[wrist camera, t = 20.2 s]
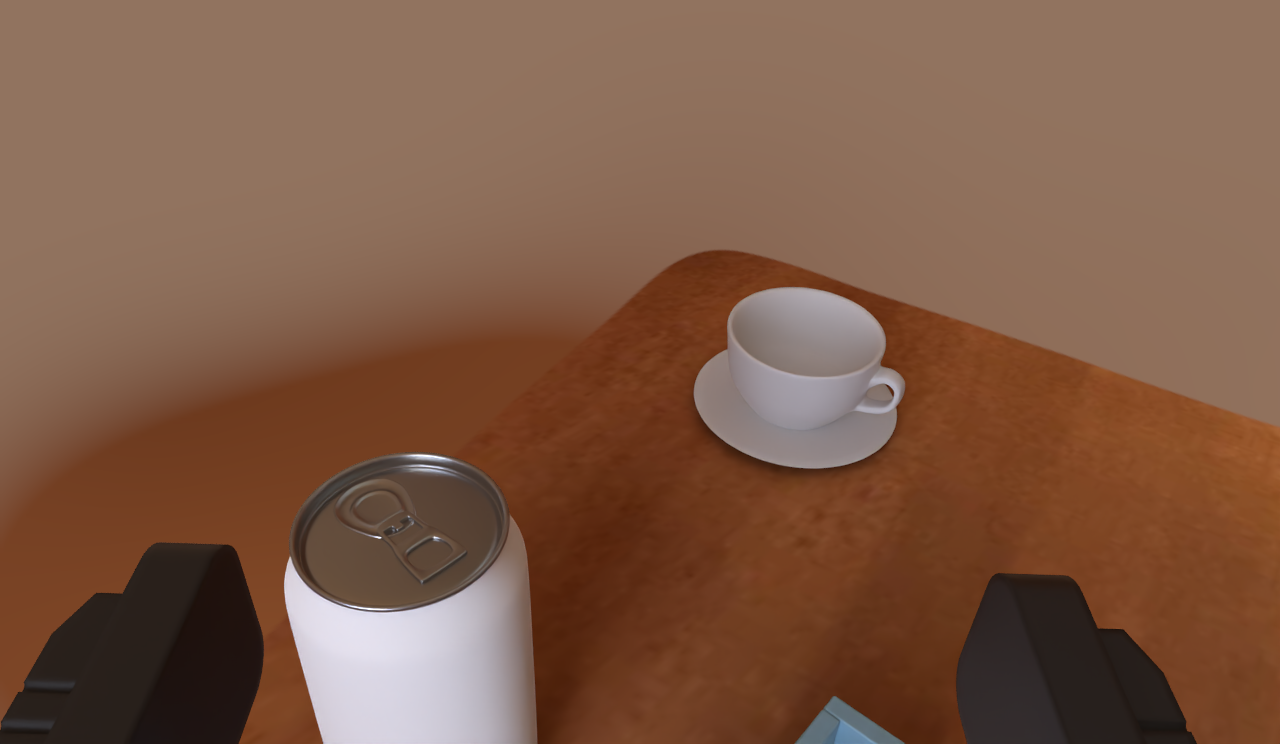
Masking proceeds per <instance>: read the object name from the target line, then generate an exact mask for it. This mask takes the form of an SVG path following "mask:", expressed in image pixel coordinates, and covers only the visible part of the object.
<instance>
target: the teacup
mask: <svg viewBox="0 0 1280 744" xmlns="http://www.w3.org/2000/svg"><path fill="white" fill-rule="evenodd" d="M727 333H728V349H727V350H725V351H723V352H721V353H719V354H717V355H716V356H715V357H713V358H712V359H711V360H709V361H708V362H707V363H706V364H705V366H704V367H703V368H702V369H701V371H700V372H699V374H698V376H697V378H696V381H695V386H694V399H695V404H696V407H697V410H698V412H699V414H700V416H701V417H702V419H703V420H704V422H705V423H706V424H707V426H708V427H709V428H710V429H711V430H712V431H713V432H714V433H715V434H716V435H717V436H718V437H720V438H721V439H722V440H723V441H725V442H726V443H728V444H729V445H731V446H732V447H734V448H736V449H738V450H739V451H741V452H743V453H745V454H748V455H750V456H752V457H755V458H758V459H760V460H763V461H767V462H770V463H774V464H778V465H783V466H789V467H797V468H830V467H837V466H842V465H847V464H850V463H853V462H856V461H859V460H862V459H864V458H866V457H868V456H870V455H871V454H873V453H875V452H876V451H878V450H879V449H880V448H881V447H882V446H883V445H884V444H885V443H886V442H887V441H888V440H889V438H890V437H891V435H892V433H893V431H894V429H895V425H896V421H897V410H896V406H897V405H898V404H899V402H900V401H901V399H902V397H903V395H904V391H905V382H904V379H903V378H902V376H901V375H900V374H899V373H897V372H896V371H894V370H893V369H890V368H885V367H882V366H881V365H880V364H881V360H882V358H883V355H884V352H885V349H886V337H885V333H884V331H883V329H882V327H881V325H880V324H879V322H878V321H877V320H876V319H875V318H874V316H873V315H871V314H870V313H869V312H868V311H867V310H865V309H864V308H863V307H861V306H860V305H858V304H856V303H855V302H853V301H851V300H849V299H846V298H844V297H842V296H839V295H836V294H833V293H830V292H826V291H822V290H817V289H811V288H801V287H782V288H774V289H768V290H764V291H760V292H757V293H755V294H752V295H750V296H748V297H746V298H745V299H743V300H742V301H740V302H739V303H738V304H737V305H736V306H735V307H734V308H733V310H732V311H731V313H730V315H729V318H728V323H727ZM885 384H887V385H889V386H890V387H891V388H892V389H893V391H894V397H892V394H891V392H890V391H889V389H888V388H887V386H886V385H885Z"/></svg>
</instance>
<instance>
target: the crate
mask: <svg viewBox="0 0 1280 744" xmlns="http://www.w3.org/2000/svg"><path fill="white" fill-rule="evenodd" d="M795 744H905V743H904V742H902V741H901V740H899V739H898V738H896V737H895V736H893V735H892V734H890V733H889V732H888V731H886V730H885V729H883V728H882V727H880V726H879V725H877V724H876V723H874V722H873V721H871V720H870V719H868V718H867V717H865V716H864V715H863V714H861V713H860V712H858V711H857V710H855V709H854V708H852V707H851V706H849V705H848V704H846V703H845V702H843V701H842V700H840V699H839V698H838V697H836V696H833V697H832V698H831V699H830V701H829V702H828V703H827V704H826V706H825V707H824V709H823V710H822V711H821V712H820V713H819V714H818V715H817V717H816V718H815V719H814V720H813V722H812V723H811V724H810V725H809V726H808V728H807V729H806V730H805V731H804V733H803V734H802V735H801V736H800V737H799V739H798V740H797V741H796V742H795Z"/></svg>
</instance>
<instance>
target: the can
mask: <svg viewBox="0 0 1280 744" xmlns="http://www.w3.org/2000/svg"><path fill="white" fill-rule="evenodd" d="M289 550H290V558H289V561H288V564H287V569H286V573H285V581H284V590H285V600H286V606H287V611H288V615H289V620H290V624H291V628H292V631H293V635H294V639H295V643H296V646H297V650H298V654H299V657H300V661H301V665H302V668H303V672H304V676H305V679H306V683H307V686H308V690H309V694H310V697H311V701H312V704H313V708H314V711H315V715H316V719H317V722H318V726H319V729H320V733H321V736H322V740H323V743H324V744H537V720H536V698H535V678H534V658H533V639H532V621H531V603H530V587H529V572H528V561H527V553H526V548H525V544H524V540H523V537H522V534H521V532H520V530H519V528H518V526H517V524H516V523H515V521H514V519H513V518H512V517H511V515H510V514H509V508H508V504H507V501H506V499H505V496H504V494H503V492H502V491H501V489H500V488H499V486H498V485H497V484H496V482H495V481H494V480H493V479H492V478H491V477H490V476H489V475H487V474H486V473H485V472H484V471H482V470H481V469H479V468H478V467H476V466H474V465H472V464H470V463H468V462H466V461H463V460H461V459H458V458H455V457H451V456H447V455H443V454H437V453H427V452H405V453H396V454H389V455H384V456H380V457H375V458H372V459H369V460H366V461H363V462H360V463H357V464H355V465H353V466H351V467H348V468H346V469H344V470H343V471H341V472H339V473H337V474H336V475H334V476H332V477H331V478H329V479H328V480H327V481H325V482H324V483H323V484H322V485H320V486H319V487H318V488H317V489H316V490H315V491H314V492H313V493H312V494H311V495H310V496H309V497H308V498H307V500H306V501H305V502H304V503H303V505H302V506H301V508H300V509H299V511H298V513H297V515H296V517H295V519H294V522H293V524H292V527H291V531H290V537H289Z"/></svg>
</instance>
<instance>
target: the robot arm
mask: <svg viewBox="0 0 1280 744" xmlns="http://www.w3.org/2000/svg"><path fill="white" fill-rule="evenodd" d="M263 656H264V645H263V635H262V631H261V627H260V624H259V621H258V618H257V615H256V611H255V608H254V605H253V602H252V599H251V596H250V592H249V589H248V586H247V583H246V579H245V576H244V573H243V570H242V567H241V563H240V560H239V557H238V555H237V552H236V551H235V549H234V548H233V547H232V546H230V545H220V544H219V545H217V544H190V543H189V544H188V543H156V544H153V545H152V546H151V547H149V548H148V549H147V551H146V552H145V553H144V555H143V556H142V558H141V560H140V562H139V564H138V565H137V568H136V569H135V571H134V573H133V575H132V577H131V579H130V580H129V582H128V584H127V586H126V588H125V590H124V592H123V594H114V593H96V594H95V595H93V597H91V598H90V599H89V600H88V601H87V602H86V603H85V604H84V605H83V606H82V607H80V609H78V610H77V611H76V612H75V613H74V614H73V615H72V616H71V617H70V618H69V619H68V620H66V621H65V622H64V623H63V624H62V625H61V626H60V627H59V628H58V629H57V630H56V631H55V632H53V634H52V635H51V636H50V638H49V640H48V642H47V643H46V645H45V647H44V648H43V650H42V652H41V654H40V655H39V657H38V659H37V661H36V662H35V664H34V666H33V668H32V669H31V671H30V673H29V675H28V676H27V678H26V680H25V681H24V684H25V686H24V690H23V691H22V692H18V694H17V695H16V697H15V699H14V701H13V702H12V704H11V706H10V708H9V709H8V711H7V713H6V715H5V716H4V718H3V720H2V721H1V730H0V744H239V741H240V738H241V735H242V732H243V730H244V727H245V724H246V721H247V718H248V716H249V713H250V710H251V707H252V705H253V702H254V699H255V696H256V693H257V690H258V687H259V683H260V679H261V673H262V667H263ZM956 691H957V702H958V709H959V714H960V718H961V722H962V726H963V729H964V733H965V737H966V740H967V744H1197V743H1196V741H1195V739H1194V737H1193V735H1192V733H1191V732H1188V731H1187V729H1186V720H1185V718H1184V716H1183V714H1182V711H1181V709H1180V707H1179V705H1178V703H1177V701H1176V699H1175V697H1174V695H1173V692H1172V690H1171V688H1170V686H1169V684H1168V682H1167V680H1166V678H1165V675H1164V673H1163V672H1162V671H1161V670H1160V669H1159V668H1158V667H1157V665H1156V664H1155V663H1154V662H1153V661H1152V660H1151V659H1150V658H1149V657H1148V656H1147V655H1146V654H1145V652H1144V651H1143V650H1142V649H1141V648H1140V647H1139V646H1138V645H1137V644H1136V643H1135V642H1134V641H1133V639H1132V638H1131V637H1130V636H1129V635H1128V634H1127V633H1126V632H1125V631H1124V630H1123V629H1098V628H1097V626H1096V624H1095V621H1094V619H1093V617H1092V614H1091V612H1090V610H1089V607H1088V605H1087V603H1086V600H1085V598H1084V596H1083V593H1082V591H1081V589H1080V587H1079V586H1078V584H1077V583H1076V582H1075V581H1074V580H1073V579H1072V578H1071V577H1069V576H1064V575H1034V574H1004V573H998V574H995V575H994V576H992V578H991V579H990V581H989V583H988V585H987V588H986V590H985V593H984V595H983V598H982V601H981V603H980V606H979V608H978V611H977V613H976V616H975V619H974V621H973V624H972V626H971V629H970V631H969V634H968V637H967V639H966V642H965V644H964V647H963V650H962V652H961V655H960V658H959V662H958V667H957V677H956Z"/></svg>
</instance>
